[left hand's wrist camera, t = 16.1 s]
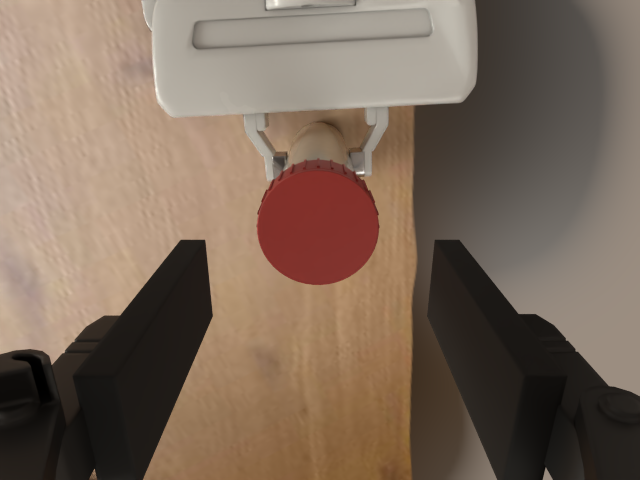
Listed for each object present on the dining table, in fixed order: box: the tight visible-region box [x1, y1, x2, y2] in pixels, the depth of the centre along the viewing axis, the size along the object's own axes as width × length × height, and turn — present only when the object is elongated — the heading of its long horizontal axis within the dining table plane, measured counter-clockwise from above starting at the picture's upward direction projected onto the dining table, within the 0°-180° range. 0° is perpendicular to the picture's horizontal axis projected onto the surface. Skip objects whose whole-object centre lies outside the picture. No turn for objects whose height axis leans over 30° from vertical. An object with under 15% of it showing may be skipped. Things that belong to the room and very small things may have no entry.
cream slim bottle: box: [283, 122, 354, 171], centre depth 28 cm, size 4×4×19 cm
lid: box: [257, 158, 379, 285], centre depth 20 cm, size 5×5×2 cm
